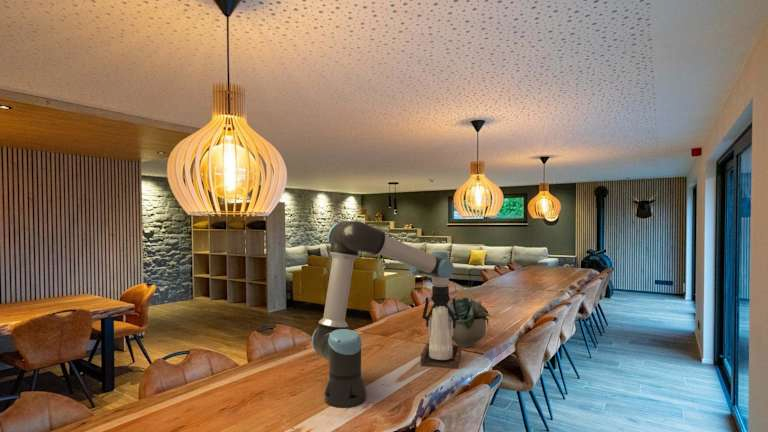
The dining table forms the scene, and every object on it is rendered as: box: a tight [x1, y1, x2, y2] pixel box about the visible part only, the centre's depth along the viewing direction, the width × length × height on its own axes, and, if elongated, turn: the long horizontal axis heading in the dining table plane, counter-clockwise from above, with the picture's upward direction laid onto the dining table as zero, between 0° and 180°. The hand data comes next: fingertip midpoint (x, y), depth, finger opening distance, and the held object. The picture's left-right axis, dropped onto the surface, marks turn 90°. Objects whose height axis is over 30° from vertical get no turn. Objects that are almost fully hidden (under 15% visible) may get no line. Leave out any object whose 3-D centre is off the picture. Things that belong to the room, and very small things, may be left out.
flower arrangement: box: [448, 297, 491, 348], centre depth 210 cm, size 25×25×24 cm
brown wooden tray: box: [420, 343, 462, 370], centre depth 186 cm, size 17×16×5 cm
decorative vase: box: [428, 302, 453, 360], centre depth 186 cm, size 11×11×25 cm
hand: (441, 334), depth 186 cm, fingers closed on decorative vase, 9 cm apart
